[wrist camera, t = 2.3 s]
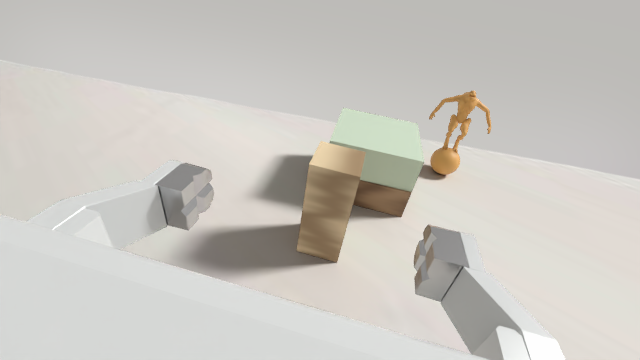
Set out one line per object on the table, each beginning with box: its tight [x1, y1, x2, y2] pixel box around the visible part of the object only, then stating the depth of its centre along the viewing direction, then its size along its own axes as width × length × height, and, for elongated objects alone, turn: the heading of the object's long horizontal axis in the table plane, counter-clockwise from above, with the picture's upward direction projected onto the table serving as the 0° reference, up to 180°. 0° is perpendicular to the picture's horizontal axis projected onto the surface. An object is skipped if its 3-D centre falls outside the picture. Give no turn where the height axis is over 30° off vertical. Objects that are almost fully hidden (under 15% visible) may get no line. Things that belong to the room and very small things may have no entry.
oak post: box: [297, 141, 366, 262], centre depth 26 cm, size 4×4×10 cm
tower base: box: [353, 180, 411, 217], centre depth 38 cm, size 10×10×4 cm
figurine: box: [429, 91, 491, 175], centre depth 41 cm, size 8×6×12 cm
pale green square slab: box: [330, 108, 424, 192], centre depth 36 cm, size 10×10×4 cm
